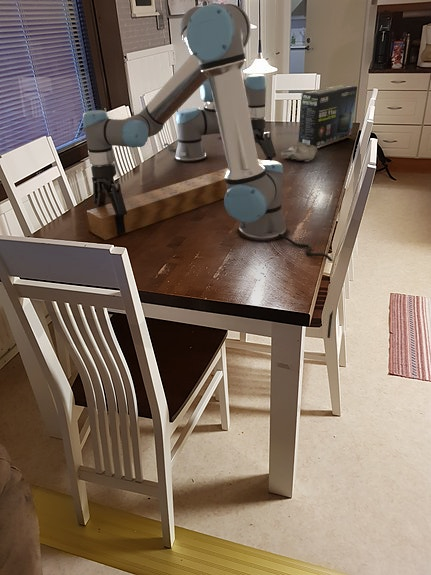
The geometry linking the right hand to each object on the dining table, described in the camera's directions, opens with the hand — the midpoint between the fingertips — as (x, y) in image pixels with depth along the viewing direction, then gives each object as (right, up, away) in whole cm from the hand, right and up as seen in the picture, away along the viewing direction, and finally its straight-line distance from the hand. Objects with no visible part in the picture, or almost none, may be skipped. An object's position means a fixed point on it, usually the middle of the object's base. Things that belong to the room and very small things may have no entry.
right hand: (113, 229), depth 155 cm
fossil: (+75, +43, +67) cm, 109 cm away
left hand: (+51, +29, +36) cm, 69 cm away
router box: (+93, +57, +90) cm, 141 cm away
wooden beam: (+26, +12, +19) cm, 35 cm away
